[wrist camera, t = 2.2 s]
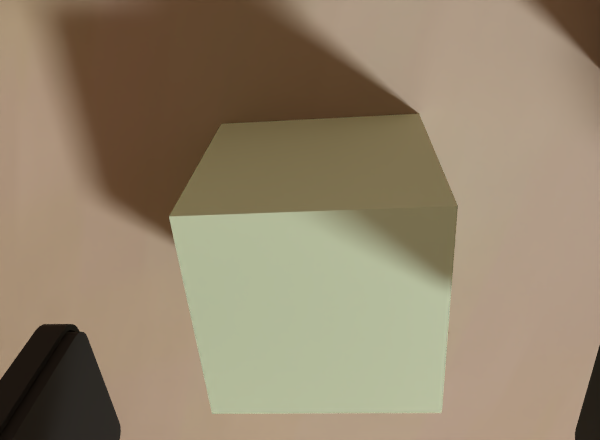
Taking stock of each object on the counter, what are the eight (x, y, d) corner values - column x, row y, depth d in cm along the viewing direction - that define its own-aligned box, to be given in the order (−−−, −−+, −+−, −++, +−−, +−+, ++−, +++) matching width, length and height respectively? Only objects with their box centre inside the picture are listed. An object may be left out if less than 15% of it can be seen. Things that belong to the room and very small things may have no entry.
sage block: (412, 277, 19) (441, 412, 14) (245, 281, 20) (212, 413, 14) (418, 112, 16) (457, 206, 11) (221, 123, 17) (168, 216, 11)
